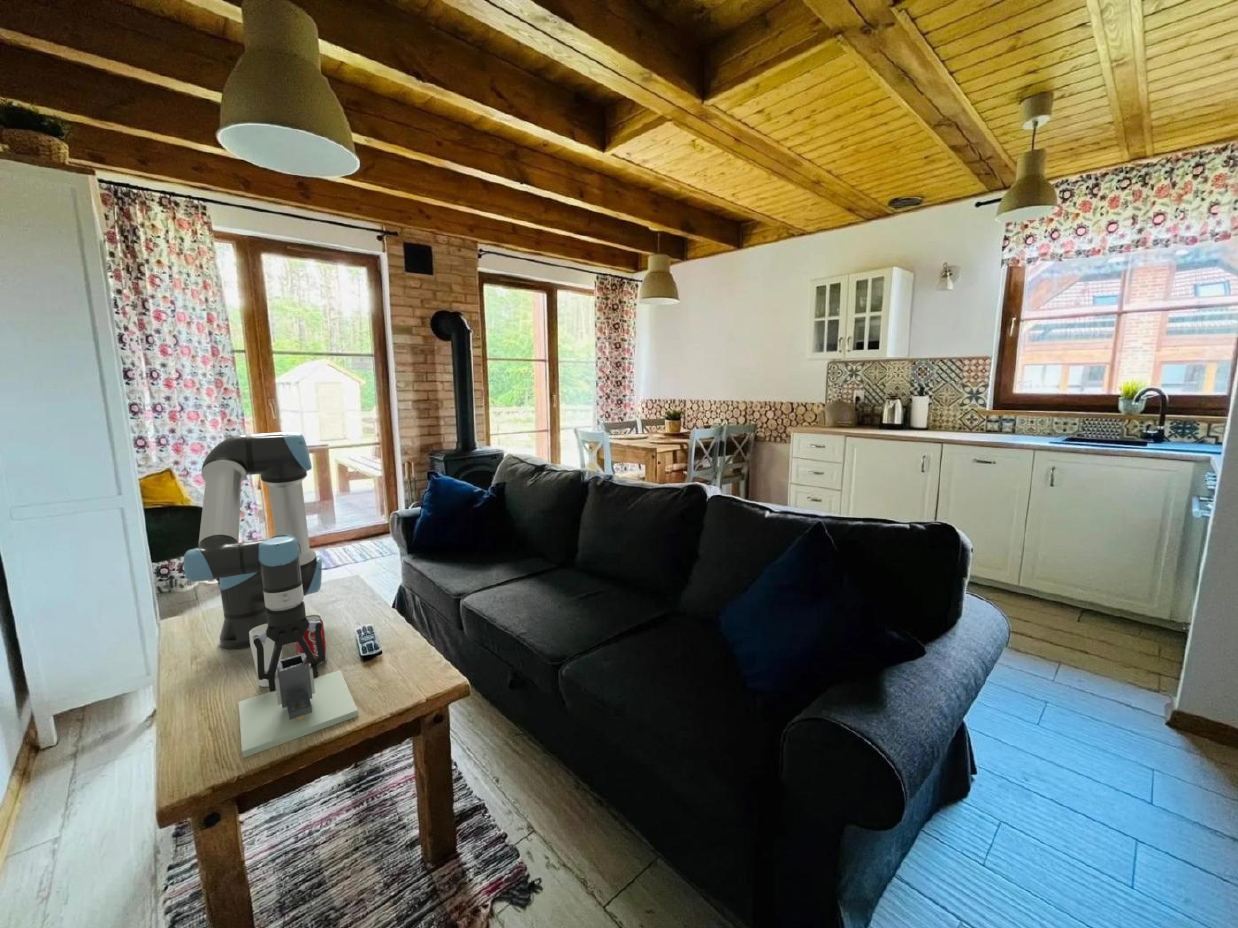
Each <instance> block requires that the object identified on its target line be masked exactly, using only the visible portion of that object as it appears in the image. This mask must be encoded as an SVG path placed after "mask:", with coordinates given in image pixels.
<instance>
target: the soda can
mask: <svg viewBox="0 0 1238 928" xmlns="http://www.w3.org/2000/svg"><path fill="white" fill-rule="evenodd" d="M306 618H307V620H308V621H316V620H320V621H321V623H322V628H321V637H322V642H323V648H324V653H325V658H326V659H325V661H326V660H327V658H328V652H327V644H326V643H327V642H326V635H325V627H324V621H323V620H322V617H321V615H318V614H311V615H310V614H309V615H306ZM303 637H304V639H305V641H306V643H307V644H308V646H309V648H310V650H311V651H312V653H313V655H314V657H317V656H318V652H317V646H316V641H315V636H314V631H312V630H311V627H308V628H307V630H306V632H305V633H304V635H303ZM294 645H295V649H296V655H299V654H303V653H304V651H303V650H302V648H301V646H300V645H299V643H298V642H295V643H294ZM307 660H308V658H307ZM325 661H323V662H320V663H319V664H318V667H319V666H321V665H323V664H324V662H325ZM308 663H309V664H310V662H309V660H308Z"/></svg>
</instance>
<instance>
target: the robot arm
mask: <svg viewBox="0 0 1238 928" xmlns="http://www.w3.org/2000/svg"><path fill="white" fill-rule="evenodd" d="M311 462H312V461H311V458H310V453H309V448H308V445H307V442H306V439H305V437H304V435H303V434H302V433H300V432H297V431H296V432H294V431H293V432H290V431H289V432H286V431H283V432H281V431H280V432H269V433H268V432H266V433H252V434H251V433H244V434H237V435H233V436H230V437H228V438H227V439H225V440H223V441H221V442H220V443H218V444H217V445H216V446H214V447H213V448H212V449H211V450H210V451H209V452H208V454H207V455H206V457H205V459H204V461H203V463H202V467H201V478H202V479H203V481H204V491H203V499H202V500H203V501H202V511H201V520H200V528H199V538H198V547H195V548H192V549H188V550H187V551H185V553H184V554H183V555H184V556H183V571H184V575H185V577H186V579H187V580H188V581H189V582H193V583H194V582H203V581H204V582H205V581H213V580H216V579H217V580H218V579H219V590H220V597H221V604H222V610H223V611H222V612H223V618H224V619H223V622H222V623H223V624H222V627H221V630H220V631H221V632H220V635H219V644H220V647H221V648H224V649H229V650H236V649H237V650H238V649H245V648H249V647H250V648H251V646H250V638H249V632H250V630H252V629H253V628H255V627H257V626H260V625H263V624H268V628H267V630H266V632H265V633H263V634H261V635H259V636H258V635H255V636H254V637H253V642H254V645H255V646H256V648H257V669H258V676H257V679H259V680H263V679H267V680H268V682H269V687H268V688H269V692H273V691H276V697H277V703H278V705H280V704H282V702H281V694H280V686H279V678H278V673H276V669H277V665H278V661H279V657H280V653H281V650H282V651H283V646H287V645H288V644H292V643H294V644H295V642H298V643H299V645H300V646H301V648H302V650H303V651H304V653H305V655H306V657H307V658H308V660H309V662H310V664H309V671H310V680H311V689H312V694H314V693H315V688H314V679H315V678H318V677H319V670H318V669H319V666H318V664H319V663H320V662H323V661H324V662H326V660H327V659H326V658H325V653H324V648H323V642H322V637H321V628H322V623H321V621H320V620H316V621H308V620H307V618H306V616H307V614H306V603H305V601H303V600H304V599H305V597H306V596H307V595H312V594H316V593H318V592H319V591H320V589H321V586H322V575H323V574H322V570H323V559H322V557H321V556H319V555H317V552H316V551H314V550H313V549H311V548H310V547H311V546H310V541H309V540H310V539H309V531H308V524H307V523H308V522H307V513H306V506H305V505H306V504H305V497H304V488H303V481H304V479H305V478H307V477H308V473H307V472H308V471H311V470H312V468H313V466H312V463H311ZM251 475H259V476H260V480H261V482H262V483H265V484H266V485H267V488H268V494H269V500H270V509H271V516H272V522H273V531H274V535H273V536H272V537H270V538H267V539H266V538H265V539H259V540H253V541H252V540H251V541H246V542H245V541H243V542H240V541H239V540H240V539H239V537H240V517H241V498H242V497H241V496H242V495H241V493H242V492H241V491H242V482H243V481H244V480H245V479H246V476H251ZM308 627H311V630H312V631H314V636H315V641H316V646H317V652H318V656H317V657H314V655H313V653H312V651H311V650H310V648H309V646H308V644H307V643H306V641H305V639H304V637H303V635H304V633H305V632H306V630H307V628H308ZM266 638H270V639H271V640H273V641H274V642H275V644H274V649H273V653H272V657H271V661H270V665H269V669H268V671H265V669H264V648H263V644H265V643H266ZM325 659H326V660H325ZM275 673H276V674H275Z"/></svg>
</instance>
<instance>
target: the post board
mask: <svg viewBox="0 0 1238 928" xmlns="http://www.w3.org/2000/svg"><path fill="white" fill-rule="evenodd" d="M314 688H315V693H314V694H312V699H310V702H311V706H312V713H309V714H306V715H303V716H300V717H297V718H294V719H291V720H289V716H288V711H287V707H285V708H282V704H280V705H278V703H277V697H276V691H273V692H271V691H268V692H265V693H262V694H259V695H255V696H252V697H248V698H246V699H243V700H240V701H238V713H239V726H240V727H239V729H240V743H241V745H240V746H241V755H242V759H244V758H246V757H249V756H252V755H255V754H257V753H261V752H263V751H267V750H269V749H271V748H274V747H277V746H280V745H282V744H285V743H288V742H290V741H293V740H296V739H299V738H302V737H304V736H306V735H310V734H312V733H315V732H317V731H321V730H323V729H324V730H325V729H326V728H329V727H331V726H334V725H338V724H340V723H342V722H346V721H348V720H351V719H354V718H356V717H358V716H359V710H358V707H357V705H356V704H355V701H354V698H353V696H352V693H351V692H350V689H349V687H348V685H347V682H346V680H345V678H344V676H343V673H342V671H341V670H336V671H333V672H330V673H326V674H323V675H320V676H319V675H318V678H315V679H314ZM304 706H305V705H304ZM301 707H302V706H301ZM298 708H300V707H298ZM295 709H297V708H295ZM292 710H294V709H292Z"/></svg>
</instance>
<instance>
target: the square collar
mask: <svg viewBox="0 0 1238 928" xmlns="http://www.w3.org/2000/svg"><path fill="white" fill-rule="evenodd" d="M277 673H278V678H279V686H280V694H281V702H282V708H285V707H287V711H288V716H289V720H291V719H294V718H297V717H300V716H303V715H306V714H309V713H312V706H311V702H310V699H312V689H311V680H310V671H309V663H308V660H307V657H306V655H305V653H303V654H299V655H297V654H296V655H292V656H289V657H288V656H287V657H285V658H282V659H281V660H279V661H278V665H277ZM304 705H305V706H304ZM301 706H302V707H301ZM298 707H300V708H298ZM295 708H297V709H295ZM292 709H294V710H292Z"/></svg>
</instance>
